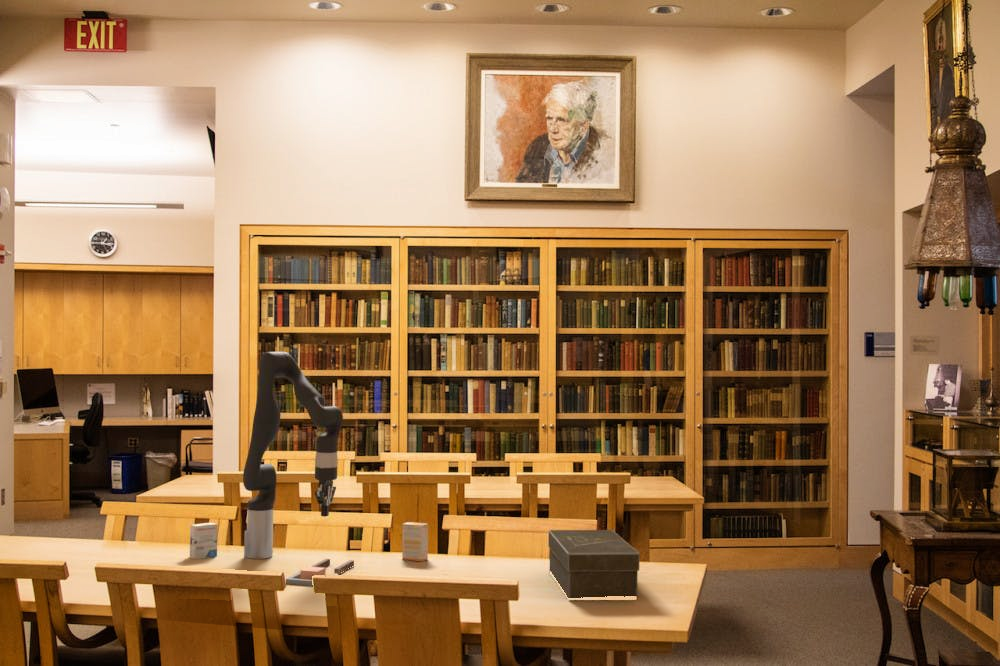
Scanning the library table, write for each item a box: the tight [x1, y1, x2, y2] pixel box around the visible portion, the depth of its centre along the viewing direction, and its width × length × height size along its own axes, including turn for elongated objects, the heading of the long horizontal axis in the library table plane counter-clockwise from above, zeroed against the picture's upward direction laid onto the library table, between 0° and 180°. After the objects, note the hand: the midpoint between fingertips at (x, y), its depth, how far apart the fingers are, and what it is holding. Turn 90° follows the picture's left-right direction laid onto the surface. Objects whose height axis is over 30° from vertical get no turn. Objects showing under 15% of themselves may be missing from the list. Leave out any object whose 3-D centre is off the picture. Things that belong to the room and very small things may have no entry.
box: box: [548, 529, 641, 598], centre depth 330 cm, size 22×39×15 cm, turn 6°
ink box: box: [189, 522, 219, 560], centre depth 366 cm, size 9×5×12 cm, turn 129°
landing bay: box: [285, 570, 338, 587], centre depth 332 cm, size 13×12×2 cm
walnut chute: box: [310, 558, 355, 575], centre depth 348 cm, size 10×14×2 cm
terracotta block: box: [300, 566, 327, 580], centre depth 332 cm, size 6×6×4 cm
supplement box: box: [401, 521, 429, 562], centre depth 367 cm, size 8×5×13 cm, turn 65°
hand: (324, 516), depth 346 cm, fingers closed
